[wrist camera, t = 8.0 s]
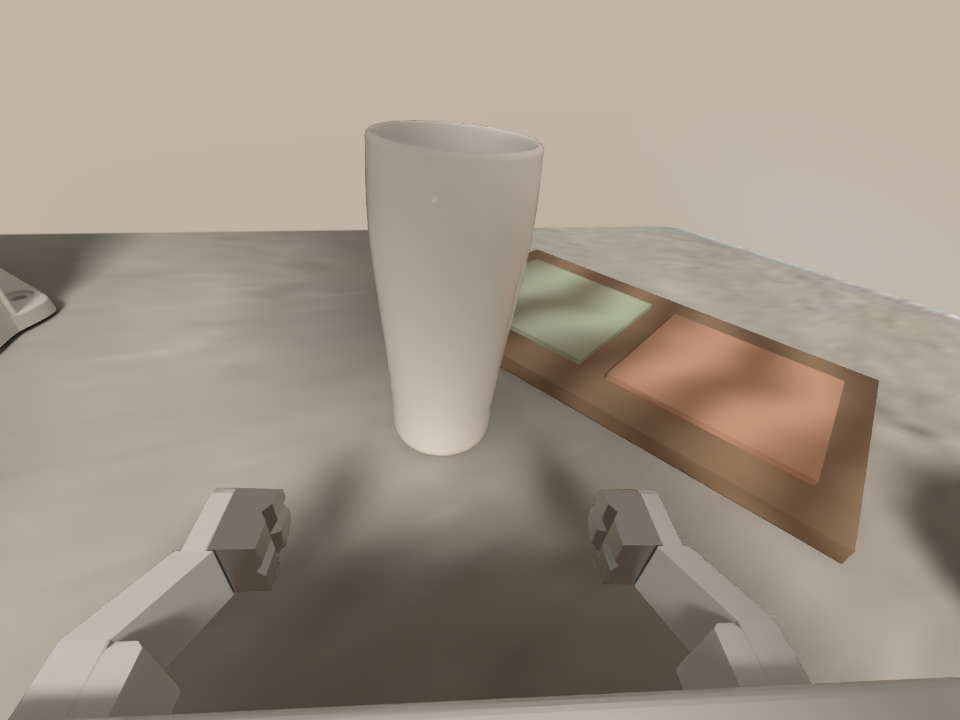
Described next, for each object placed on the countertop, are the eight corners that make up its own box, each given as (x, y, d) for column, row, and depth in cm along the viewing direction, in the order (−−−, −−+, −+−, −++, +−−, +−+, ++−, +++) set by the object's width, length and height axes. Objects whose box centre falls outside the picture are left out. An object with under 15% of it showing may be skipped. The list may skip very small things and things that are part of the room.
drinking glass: (438, 374, 29) (449, 116, 20) (522, 424, 25) (579, 144, 17) (355, 427, 24) (321, 123, 15) (445, 496, 21) (467, 164, 12)
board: (406, 312, 35) (406, 296, 34) (535, 258, 46) (537, 245, 45) (841, 563, 20) (860, 546, 19) (870, 391, 31) (882, 376, 31)
